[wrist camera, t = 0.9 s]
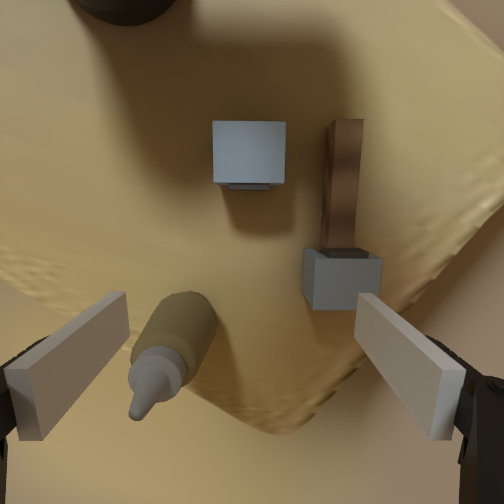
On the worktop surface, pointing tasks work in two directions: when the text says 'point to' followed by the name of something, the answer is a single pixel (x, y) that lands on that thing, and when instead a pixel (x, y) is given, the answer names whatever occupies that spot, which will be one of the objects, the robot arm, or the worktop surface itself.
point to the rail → (341, 183)
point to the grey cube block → (249, 154)
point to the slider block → (339, 277)
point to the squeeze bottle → (169, 350)
